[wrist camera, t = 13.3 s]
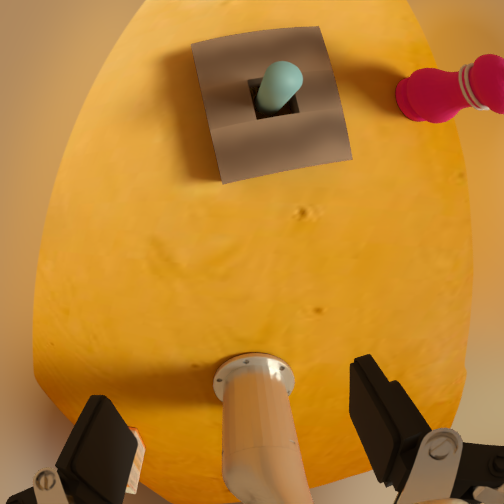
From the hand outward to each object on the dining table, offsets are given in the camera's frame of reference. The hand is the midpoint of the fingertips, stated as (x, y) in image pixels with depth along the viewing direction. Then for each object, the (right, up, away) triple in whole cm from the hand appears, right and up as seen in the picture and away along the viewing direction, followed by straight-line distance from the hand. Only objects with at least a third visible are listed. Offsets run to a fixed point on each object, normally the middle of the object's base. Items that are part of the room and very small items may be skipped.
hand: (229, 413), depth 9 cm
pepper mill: (+22, +26, +20) cm, 40 cm away
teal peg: (+3, +23, +20) cm, 31 cm away
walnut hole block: (+3, +23, +20) cm, 31 cm away
